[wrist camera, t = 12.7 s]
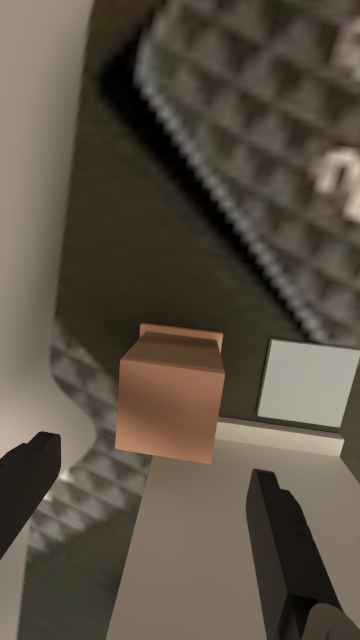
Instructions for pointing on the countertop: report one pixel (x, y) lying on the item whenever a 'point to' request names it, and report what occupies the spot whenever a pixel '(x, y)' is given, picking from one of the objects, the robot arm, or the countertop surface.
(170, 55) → the countertop surface
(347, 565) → the panel
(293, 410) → the slate pad
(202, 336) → the terracotta pad
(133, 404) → the copper cube
